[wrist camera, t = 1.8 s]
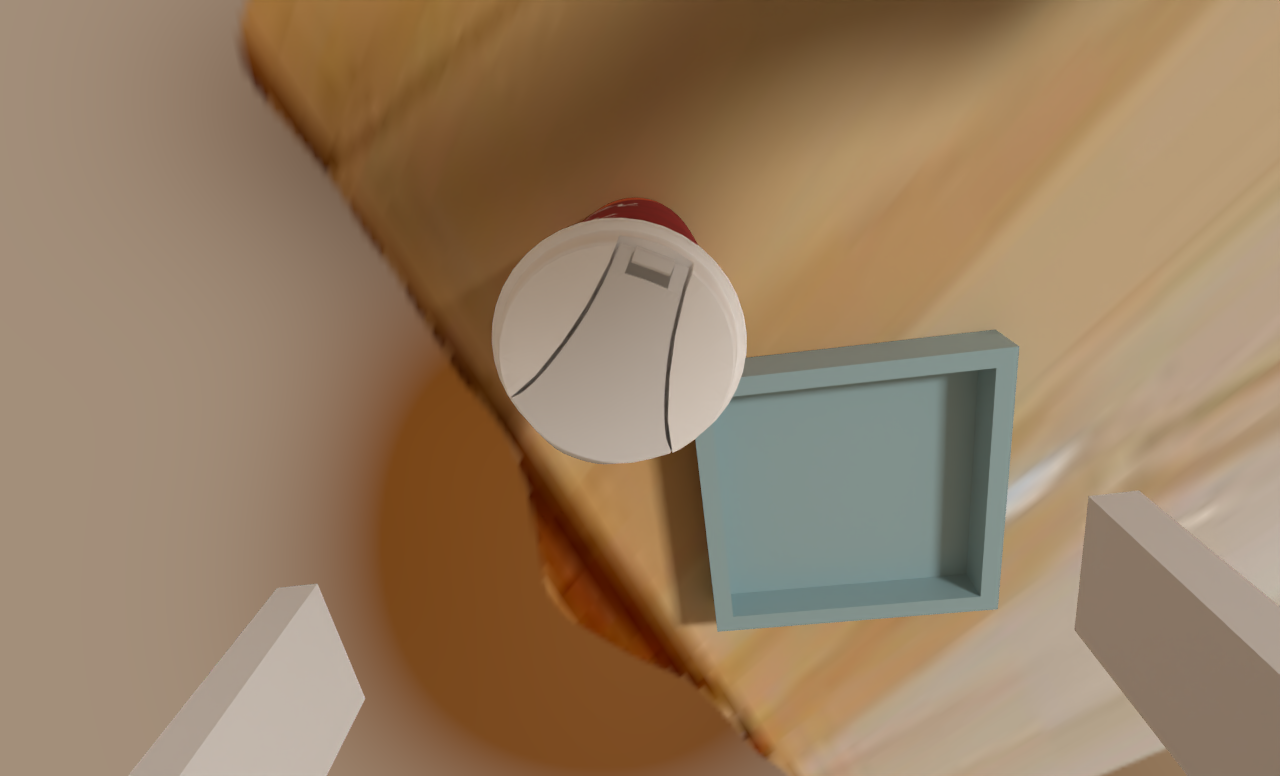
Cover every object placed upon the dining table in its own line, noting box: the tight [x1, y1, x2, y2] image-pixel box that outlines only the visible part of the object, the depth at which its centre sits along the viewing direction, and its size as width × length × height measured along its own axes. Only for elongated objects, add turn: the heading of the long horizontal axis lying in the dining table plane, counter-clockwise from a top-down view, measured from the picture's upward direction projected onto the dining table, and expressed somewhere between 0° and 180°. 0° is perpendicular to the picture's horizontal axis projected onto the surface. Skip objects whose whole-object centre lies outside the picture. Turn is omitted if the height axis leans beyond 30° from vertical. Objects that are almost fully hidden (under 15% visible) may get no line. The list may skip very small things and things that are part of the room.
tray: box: [695, 330, 1019, 632], centre depth 38 cm, size 16×16×3 cm
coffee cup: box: [492, 198, 747, 464], centre depth 28 cm, size 8×8×15 cm
